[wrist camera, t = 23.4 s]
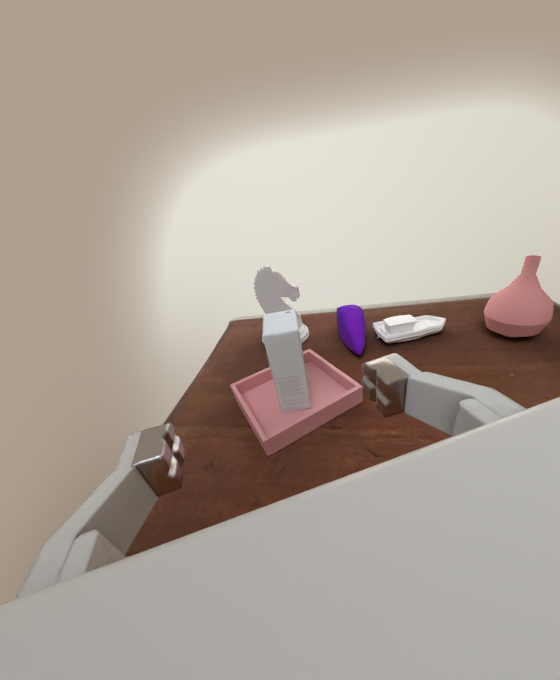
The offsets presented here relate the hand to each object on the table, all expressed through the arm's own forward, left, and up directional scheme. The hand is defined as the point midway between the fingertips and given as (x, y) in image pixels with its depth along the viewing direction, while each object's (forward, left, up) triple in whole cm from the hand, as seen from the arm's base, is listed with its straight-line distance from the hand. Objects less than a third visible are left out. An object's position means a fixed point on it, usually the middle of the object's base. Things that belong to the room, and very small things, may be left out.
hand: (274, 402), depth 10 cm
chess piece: (+16, +34, -18) cm, 42 cm away
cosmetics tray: (+8, +17, -18) cm, 26 cm away
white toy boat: (+33, +18, -18) cm, 42 cm away
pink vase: (+43, +8, -18) cm, 47 cm away
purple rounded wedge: (+25, +24, -18) cm, 39 cm away
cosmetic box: (+8, +17, -17) cm, 26 cm away
